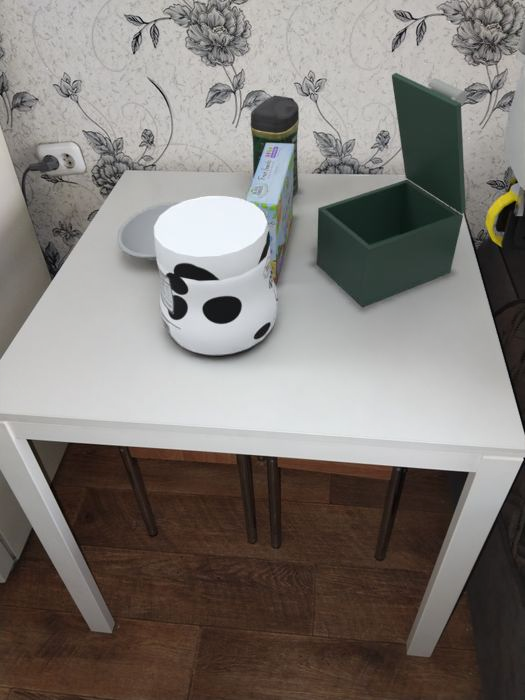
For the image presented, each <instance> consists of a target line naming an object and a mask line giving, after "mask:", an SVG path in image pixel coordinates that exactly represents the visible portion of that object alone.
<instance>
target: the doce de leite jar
mask: <svg viewBox="0 0 525 700" xmlns="http://www.w3.org/2000/svg"><path fill="white" fill-rule="evenodd" d="M180 202H181V203H179V204H177V205H174V206H172V207H170V208H169V209H168V210H167V211H165V212H164V213H163V214H161V215H160V216H159V218H158V220H157V222H156V224H155V225H154V241H155V251H156V260H155V261H156V264H157V269H158V272H159V277H160V283H161V286H160V293H159V312H160V316H161V320H162V322H163V325H164V328H165V330H166V332H167V333H168V335H169V336H170V338H171V339H172V340H173V341H174V342H175V343H176V344H177V345H179V346H180V347H181V348H183V349H185V350H187V351H189V352H191V353H195V354H199V355H203V356H209V357H210V356H211V357H215V356H216V357H218V356H219V357H220V356H231V355H235V354H239V353H242V352H244V351H248V350H249V349H251V348H253V347H255V346H257V345H258V344H260V343H261V342H262V341H263V340H264V339H266V337H267V336H268V334H269V333H270V332H271V331H272V329H273V327H274V325H275V322H276V318H277V314H278V307H279V296H278V290H277V287H276V285H275V283H274V281H273V278H272V275H271V271H270V233H269V227H268V223H267V220H266V217H265V215H264V212H263V211H262V210H261V209H259V208H258V207H257V206H256V205H255V204H253V203H250V202H248V201H246V199H242V198H241V197H235V196H226V195H208V196H207V195H206V196H205V195H204V196H200V197H196V198H191V199H186V200H184V201H180Z"/></svg>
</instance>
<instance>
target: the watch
mask: <svg viewBox="0 0 525 700" xmlns="http://www.w3.org/2000/svg"><path fill="white" fill-rule="evenodd" d="M519 189H520V185H519V183H516V184H514V185H513V186H511V188H510V191H509V192H505V193H503V194H504V195H503V194H502V195H501V196H499V197H498V198H497V199H496V200H495V201H494V202H493V204H491V206H490V208H489V209H488V210H487V214H486V218H485V223H484V224H485V227H486V230H487V233H488V235H489V237H490V240H491V241H492V242H493V243H495V244H496V245H498V246H499V247H501V248H502V245H501V243H502V239H503V237H500V236H499V235H498V234H496V233H495V232H494V226H495V221H496V219H497V217H498V214H499V213H500V211H501V210H502V209H503V208H504V207H505V206H507V205H508V204H510V203H512V202H514V201H517V197H518V193H519Z"/></svg>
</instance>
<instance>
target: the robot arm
mask: <svg viewBox="0 0 525 700" xmlns="http://www.w3.org/2000/svg"><path fill="white" fill-rule="evenodd" d="M515 55H516V57H517V59H518V61H521V62H522V67H521V70H520V73H519V76H518V81H517V84H516V87H515V91H514V95H513V98H512V102H511V105H510V110H509V113H508V117H507V118H508V119H507V122H506V127H505V133H504V140H503V148H504V149H503V150H504V153H505V155H506V158H507V161H508V163H509V169H508V171H507V176H506V180H505V184H504V193H502V196H503V195H504V194H505V193H508V192H509V191H510V188H511V186H513V185H514V184H516V183H519V185H520V189H519V193H518V197H517V201H514V202H512V203H510V204H508V205H507V206H505V207H504V208H503V209H502V210H501V211H500V213H499V214H498V215H497V216H496V220H495V221H496V222H495V224H494V227H495V230H496V232H498V233H503V235H502V238H503V239H502V243H501V245H502V247H501V248H502V249H503V250H504V251H525V18H524V19H523V23H522V28H521V32H520V37H519V40H518V46H517V50H516V54H515Z"/></svg>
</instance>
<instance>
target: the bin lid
mask: <svg viewBox="0 0 525 700" xmlns="http://www.w3.org/2000/svg"><path fill="white" fill-rule="evenodd" d="M391 80H392V88H393V89H392V90H393V96H394V104H395V110H396V116H397V117H396V118H397V125H398V132H399V140H400V146H401V153H402V160H403V168H404V176H405V179H406V180H409V181H410V182H412V183H413V184H415V185H417V186H418V187H420V188H421V189H423V190H424V191H426V192H427V193H429V194H430V195H432V196H433V197H435V198H437V199H438V200H440V201H441V202H443V203H444V204H446V205H447V206H449V207H450V208H452V209H454V210H455V211H457V212H458V213H459V214H461V215H463V214H465V213H466V211H467V210H466V209H467V206H466V187H465V165H464V162H465V161H464V143H463V141H464V139H463V120H462V119H463V118H462V105H463V104H464V103H465V102H466V100H467V97H468V94H467V91H465V90H462V89H461V88H458V87H456V86H454V85H451V84H449V83H447V82H445V81H442V80H440V79H438V78H432V79H430V81H429V82H428V86H425V85H423V84H421V83H420V82H416V81H414V80H413V79H410V78H408V77H406V76H404V75H402V74H399V73H397V72H395V73H393V74H391Z"/></svg>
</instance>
